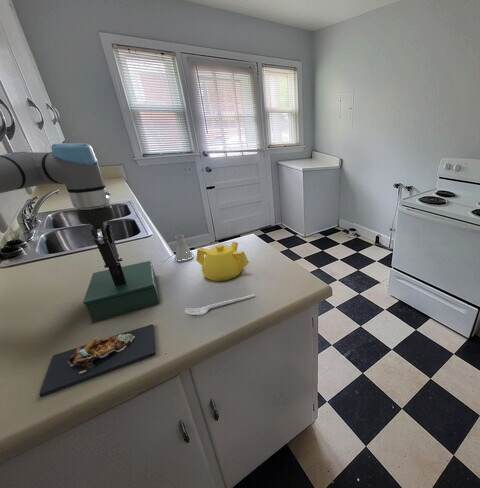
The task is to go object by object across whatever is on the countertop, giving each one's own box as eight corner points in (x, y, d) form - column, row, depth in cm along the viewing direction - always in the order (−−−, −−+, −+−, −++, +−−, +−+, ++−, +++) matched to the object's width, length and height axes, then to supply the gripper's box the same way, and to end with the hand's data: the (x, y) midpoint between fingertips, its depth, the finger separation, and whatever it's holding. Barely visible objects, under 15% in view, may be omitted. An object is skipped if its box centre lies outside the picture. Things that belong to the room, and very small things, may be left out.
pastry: (139, 340, 67) (135, 328, 66) (81, 376, 57) (75, 364, 56) (123, 331, 70) (119, 320, 69) (65, 364, 60) (59, 352, 59)
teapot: (261, 261, 108) (258, 235, 104) (240, 285, 92) (236, 256, 87) (215, 257, 112) (211, 232, 107) (187, 280, 95) (181, 251, 91)
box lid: (154, 286, 80) (153, 284, 79) (83, 305, 72) (82, 302, 71) (151, 262, 95) (151, 260, 95) (93, 275, 87) (92, 272, 87)
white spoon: (256, 299, 84) (256, 294, 83) (186, 319, 76) (184, 313, 75) (254, 294, 87) (253, 289, 86) (185, 312, 78) (184, 307, 77)
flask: (195, 259, 110) (190, 236, 106) (176, 264, 106) (170, 240, 103) (192, 253, 116) (187, 231, 112) (173, 257, 112) (168, 235, 108)
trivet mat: (40, 397, 54) (38, 394, 53) (54, 357, 63) (53, 355, 63) (155, 354, 64) (154, 352, 63) (153, 326, 73) (152, 323, 73)
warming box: (159, 302, 83) (154, 287, 81) (92, 321, 75) (85, 305, 73) (155, 276, 98) (151, 262, 95) (99, 289, 90) (93, 275, 87)
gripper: (109, 209, 67) (136, 290, 76) (112, 199, 77) (136, 271, 86) (69, 214, 63) (103, 298, 73) (78, 203, 73) (107, 278, 83)
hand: (120, 283), depth 80 cm, fingers closed
